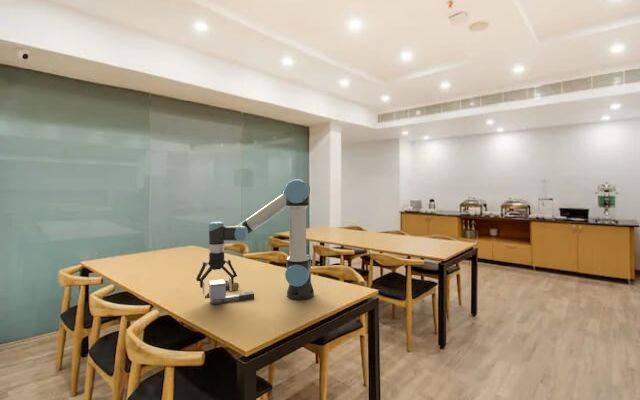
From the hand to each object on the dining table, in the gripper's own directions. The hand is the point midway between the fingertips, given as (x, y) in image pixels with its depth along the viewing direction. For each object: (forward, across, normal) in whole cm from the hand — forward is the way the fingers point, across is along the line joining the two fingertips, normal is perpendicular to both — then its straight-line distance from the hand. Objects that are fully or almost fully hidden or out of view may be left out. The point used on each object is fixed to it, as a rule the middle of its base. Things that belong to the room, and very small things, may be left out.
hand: (217, 291), depth 169 cm
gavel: (+6, -3, -16) cm, 18 cm away
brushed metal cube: (+3, 0, 0) cm, 3 cm away
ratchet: (+6, -8, 0) cm, 10 cm away
